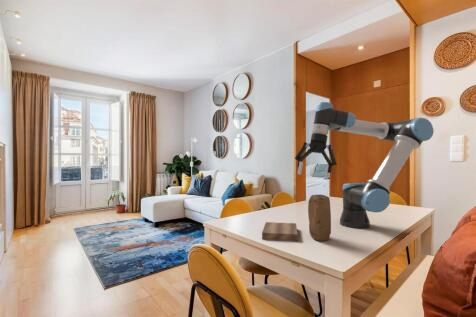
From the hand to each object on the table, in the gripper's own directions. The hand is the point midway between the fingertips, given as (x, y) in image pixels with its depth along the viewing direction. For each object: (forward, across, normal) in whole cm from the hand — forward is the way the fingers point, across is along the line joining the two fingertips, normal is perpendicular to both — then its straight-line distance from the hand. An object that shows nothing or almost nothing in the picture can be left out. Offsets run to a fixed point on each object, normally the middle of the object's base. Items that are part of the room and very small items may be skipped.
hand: (312, 176), depth 121 cm
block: (+28, +8, +1) cm, 29 cm away
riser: (+31, -9, -4) cm, 32 cm away
